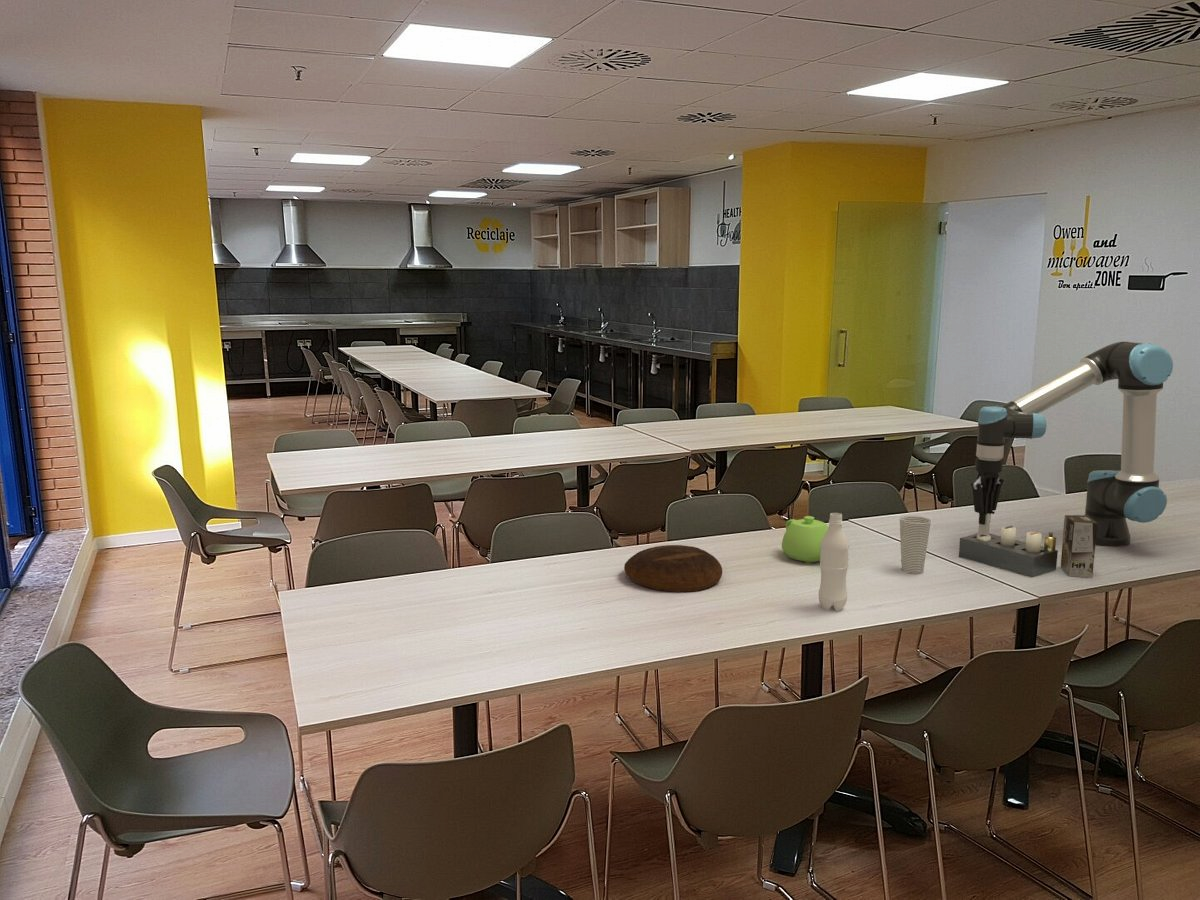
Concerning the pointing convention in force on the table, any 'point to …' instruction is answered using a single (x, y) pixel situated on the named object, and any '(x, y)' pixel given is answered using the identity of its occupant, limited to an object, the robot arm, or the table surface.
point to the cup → (914, 543)
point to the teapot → (804, 539)
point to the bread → (674, 568)
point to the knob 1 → (983, 537)
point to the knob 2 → (1008, 536)
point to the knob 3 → (1033, 542)
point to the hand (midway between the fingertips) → (983, 534)
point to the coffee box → (1078, 545)
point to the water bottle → (834, 565)
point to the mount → (1007, 555)
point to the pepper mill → (1050, 542)
